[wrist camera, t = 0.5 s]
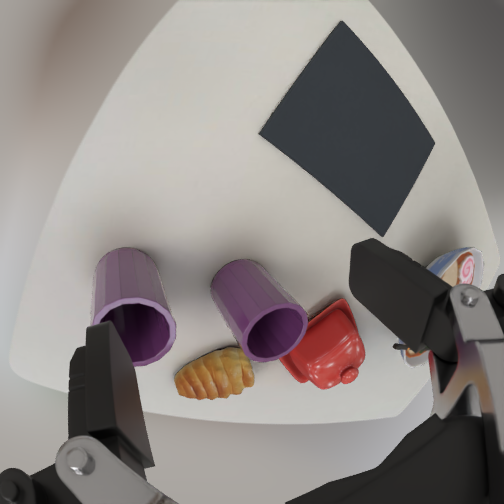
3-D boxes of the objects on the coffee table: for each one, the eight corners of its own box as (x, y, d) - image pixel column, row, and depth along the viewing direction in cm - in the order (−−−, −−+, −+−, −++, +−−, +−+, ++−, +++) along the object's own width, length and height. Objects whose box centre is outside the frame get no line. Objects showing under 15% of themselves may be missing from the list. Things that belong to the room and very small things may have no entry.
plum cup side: (202, 274, 30) (233, 325, 23) (259, 249, 32) (303, 290, 25) (220, 319, 33) (251, 372, 26) (271, 295, 35) (311, 341, 28)
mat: (258, 134, 27) (260, 134, 27) (340, 21, 25) (342, 20, 24) (381, 236, 39) (383, 237, 38) (433, 142, 37) (435, 143, 36)
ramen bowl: (466, 257, 54) (496, 274, 47) (411, 350, 58) (437, 371, 51) (423, 203, 40) (468, 222, 34) (346, 336, 44) (380, 369, 38)
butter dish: (297, 381, 44) (327, 420, 37) (266, 343, 38) (300, 389, 31) (356, 335, 45) (391, 368, 38) (338, 288, 39) (382, 324, 32)
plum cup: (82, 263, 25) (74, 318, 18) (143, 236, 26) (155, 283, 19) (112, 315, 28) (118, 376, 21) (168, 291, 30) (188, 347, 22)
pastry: (180, 396, 36) (188, 419, 33) (166, 361, 33) (173, 385, 30) (248, 374, 39) (260, 394, 36) (242, 337, 36) (256, 357, 33)
